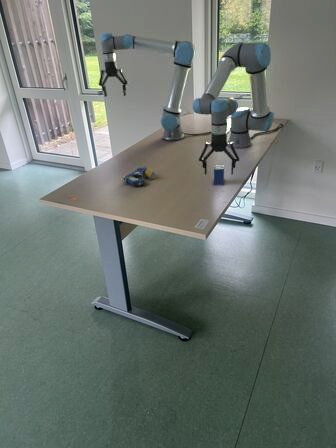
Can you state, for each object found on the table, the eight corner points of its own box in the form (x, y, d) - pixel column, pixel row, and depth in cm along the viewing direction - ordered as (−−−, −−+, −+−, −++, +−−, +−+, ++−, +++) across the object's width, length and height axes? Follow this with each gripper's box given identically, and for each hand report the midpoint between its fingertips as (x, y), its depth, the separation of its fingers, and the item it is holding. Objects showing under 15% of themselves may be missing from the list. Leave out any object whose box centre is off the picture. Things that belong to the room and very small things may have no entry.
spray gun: (161, 173, 192) (139, 170, 198) (160, 166, 189) (138, 164, 196) (143, 189, 176) (120, 186, 183) (142, 181, 174) (118, 179, 180)
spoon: (232, 135, 248) (232, 132, 246) (218, 134, 251) (218, 132, 250) (241, 119, 274) (241, 117, 273) (228, 119, 278) (228, 117, 276)
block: (214, 184, 174) (213, 169, 170) (214, 180, 179) (214, 164, 174) (223, 184, 173) (223, 169, 169) (223, 180, 178) (224, 164, 173)
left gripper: (89, 63, 213) (96, 97, 224) (126, 60, 208) (131, 96, 219) (94, 61, 219) (100, 95, 230) (130, 59, 214) (134, 94, 225)
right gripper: (192, 135, 162) (194, 176, 173) (245, 134, 157) (243, 176, 167) (194, 131, 168) (195, 170, 179) (245, 130, 163) (243, 171, 174)
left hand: (115, 96), depth 224 cm, fingers open, 13 cm apart
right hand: (218, 173), depth 173 cm, fingers open, 13 cm apart
